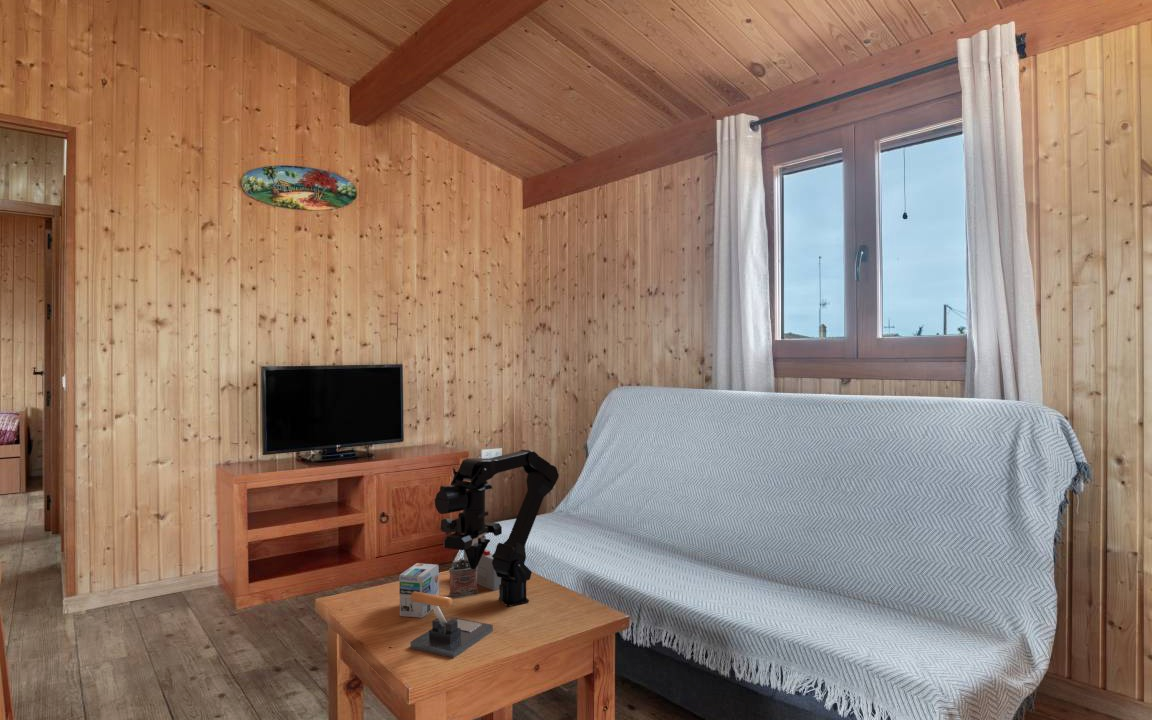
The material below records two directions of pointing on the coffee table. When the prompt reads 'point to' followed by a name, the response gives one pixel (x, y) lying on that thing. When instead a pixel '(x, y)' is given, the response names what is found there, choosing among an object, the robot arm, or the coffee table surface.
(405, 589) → the light bulb box
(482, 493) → the robot arm
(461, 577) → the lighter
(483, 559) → the cassette player
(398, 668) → the coffee table surface
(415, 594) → the lever
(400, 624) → the coffee table surface
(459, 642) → the switch panel
